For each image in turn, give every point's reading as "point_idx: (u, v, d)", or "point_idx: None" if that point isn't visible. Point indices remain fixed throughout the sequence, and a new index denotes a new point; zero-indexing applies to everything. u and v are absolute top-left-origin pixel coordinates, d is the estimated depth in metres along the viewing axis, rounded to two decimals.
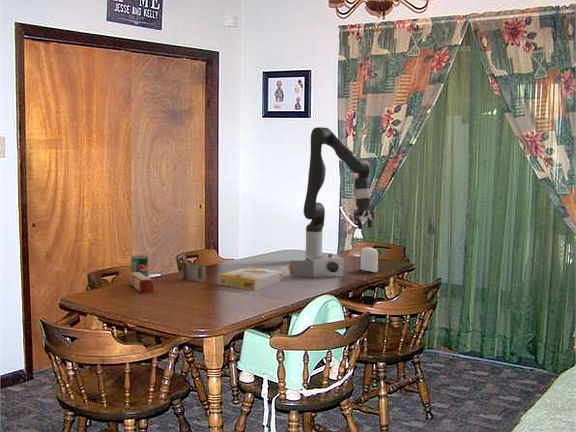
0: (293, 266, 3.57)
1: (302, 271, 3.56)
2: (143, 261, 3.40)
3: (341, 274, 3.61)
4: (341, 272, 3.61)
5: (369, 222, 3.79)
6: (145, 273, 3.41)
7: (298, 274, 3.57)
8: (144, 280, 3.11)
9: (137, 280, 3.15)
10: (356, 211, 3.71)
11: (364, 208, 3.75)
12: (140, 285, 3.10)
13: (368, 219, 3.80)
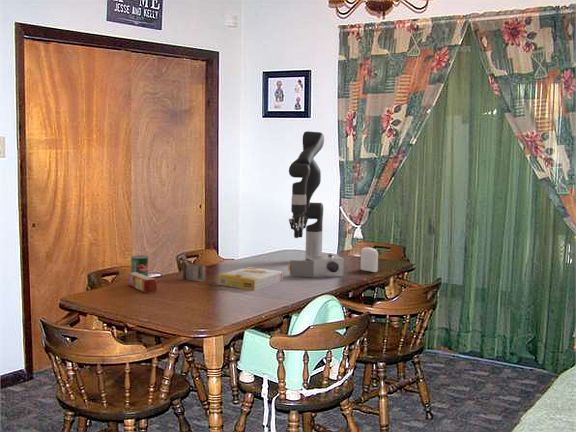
0: (293, 266, 3.57)
1: (302, 271, 3.56)
2: (143, 261, 3.40)
3: (341, 274, 3.61)
4: (341, 272, 3.61)
5: (300, 231, 3.61)
6: (145, 273, 3.41)
7: (298, 274, 3.57)
8: (148, 280, 3.12)
9: (139, 280, 3.15)
10: (292, 221, 3.54)
11: (299, 215, 3.58)
12: (144, 285, 3.11)
13: (299, 228, 3.61)
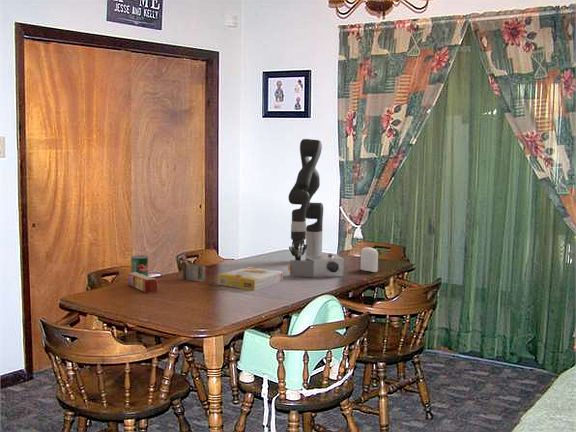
0: (293, 266, 3.57)
1: (302, 271, 3.56)
2: (143, 261, 3.40)
3: (341, 274, 3.61)
4: (341, 272, 3.61)
5: None
6: (145, 273, 3.41)
7: (298, 274, 3.57)
8: (148, 280, 3.12)
9: (140, 280, 3.15)
10: (292, 249, 3.56)
11: (299, 241, 3.60)
12: (145, 285, 3.11)
13: None
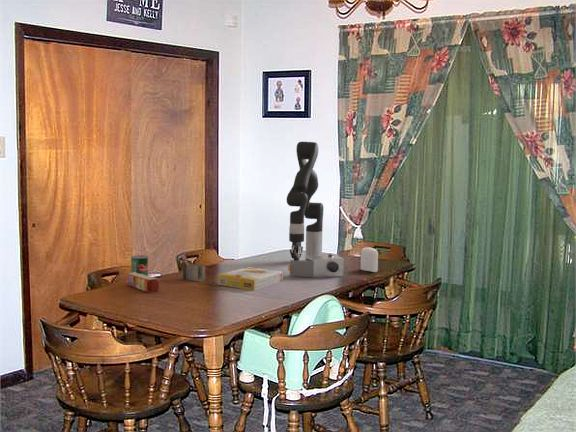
0: (293, 266, 3.57)
1: (302, 271, 3.56)
2: (143, 261, 3.40)
3: (341, 274, 3.61)
4: (341, 272, 3.61)
5: None
6: (145, 273, 3.41)
7: (298, 274, 3.57)
8: (150, 280, 3.12)
9: (141, 280, 3.15)
10: (293, 252, 3.54)
11: (298, 243, 3.58)
12: (147, 285, 3.11)
13: None
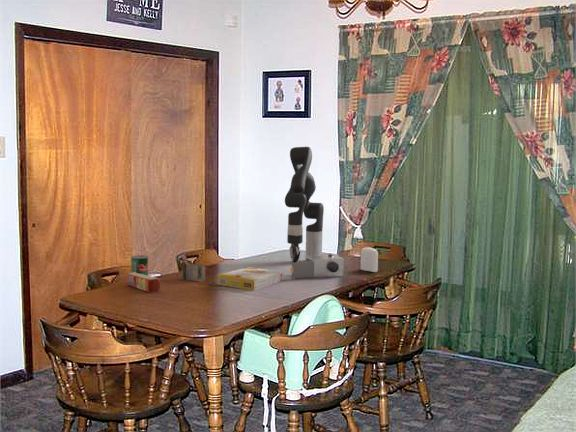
0: (295, 268, 3.51)
1: (304, 272, 3.53)
2: (143, 261, 3.40)
3: (341, 274, 3.61)
4: (341, 272, 3.61)
5: None
6: (145, 273, 3.41)
7: (300, 276, 3.53)
8: (152, 279, 3.13)
9: (142, 280, 3.15)
10: (298, 254, 3.48)
11: None
12: (148, 284, 3.12)
13: None
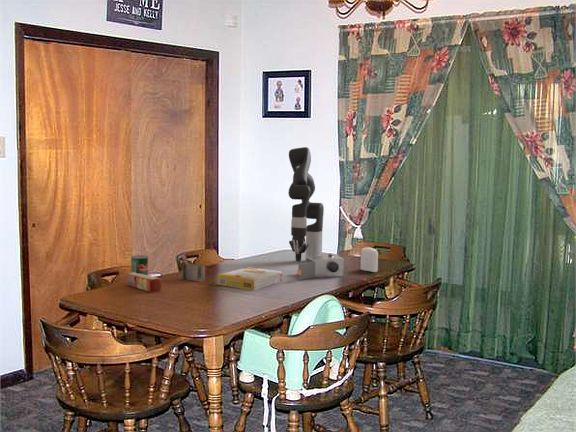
0: (302, 269, 3.48)
1: (308, 273, 3.51)
2: (143, 261, 3.40)
3: (341, 274, 3.61)
4: (341, 272, 3.61)
5: None
6: (145, 273, 3.41)
7: (305, 277, 3.50)
8: (153, 279, 3.13)
9: (143, 280, 3.16)
10: (306, 246, 3.45)
11: None
12: (149, 284, 3.12)
13: None
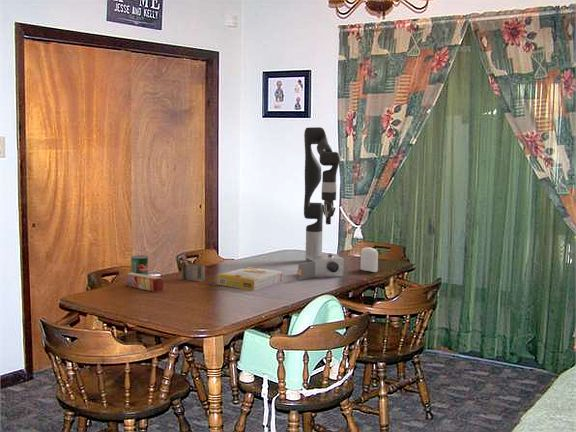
0: (302, 269, 3.48)
1: (308, 273, 3.51)
2: (143, 261, 3.40)
3: (341, 274, 3.61)
4: (341, 272, 3.61)
5: None
6: (145, 273, 3.41)
7: (305, 277, 3.50)
8: (156, 279, 3.14)
9: (145, 279, 3.16)
10: (333, 210, 3.63)
11: None
12: (153, 284, 3.13)
13: None
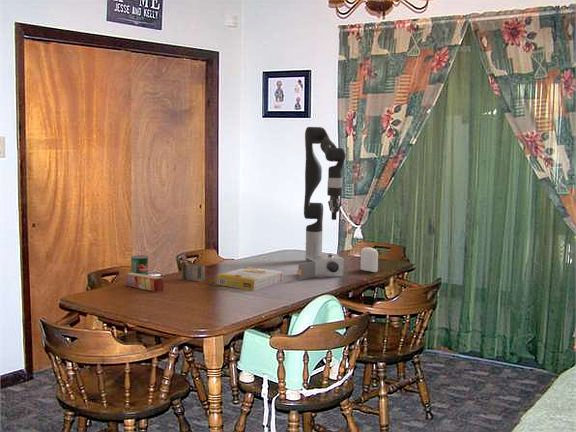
0: (302, 269, 3.48)
1: (308, 273, 3.51)
2: (143, 261, 3.40)
3: (341, 274, 3.61)
4: (341, 272, 3.61)
5: None
6: (145, 273, 3.41)
7: (305, 277, 3.50)
8: (157, 279, 3.14)
9: (146, 279, 3.16)
10: (339, 205, 3.67)
11: None
12: (154, 284, 3.13)
13: None
